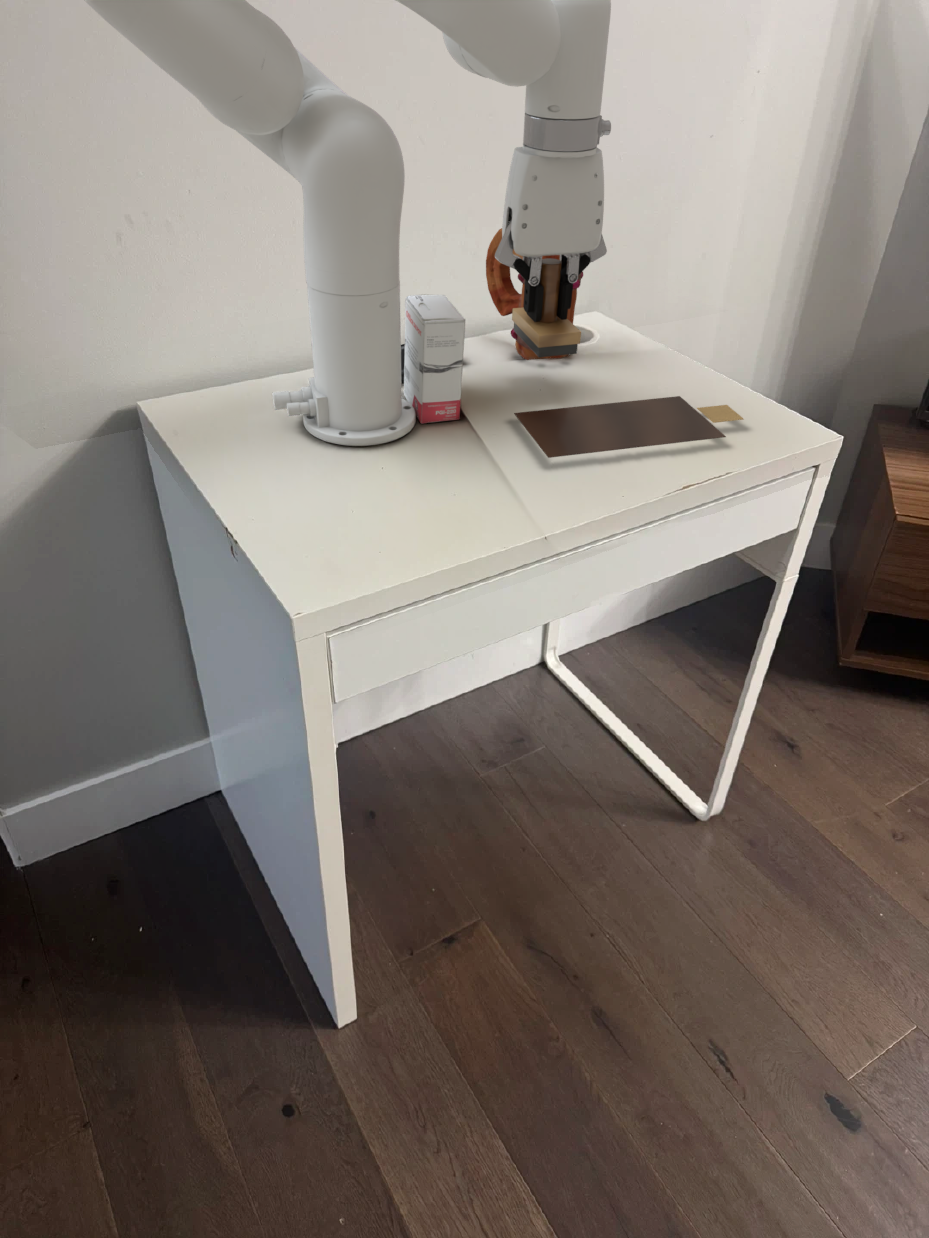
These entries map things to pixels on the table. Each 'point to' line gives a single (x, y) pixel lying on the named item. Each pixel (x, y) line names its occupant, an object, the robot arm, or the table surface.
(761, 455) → the table surface
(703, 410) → the tan rectangular block
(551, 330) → the wooden rubber stamp
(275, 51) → the robot arm
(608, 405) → the board
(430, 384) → the ink box
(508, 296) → the mug
